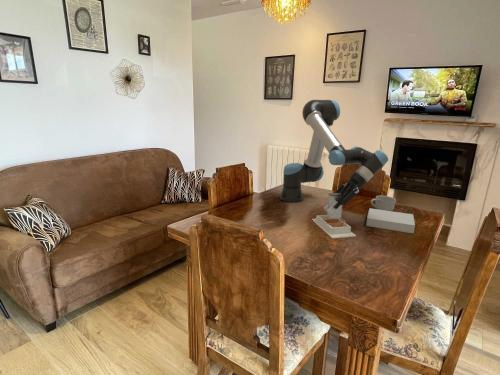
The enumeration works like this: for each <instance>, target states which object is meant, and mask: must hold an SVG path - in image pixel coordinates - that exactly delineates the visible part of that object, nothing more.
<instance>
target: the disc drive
mask: <svg viewBox="0 0 500 375" xmlns="http://www.w3.org/2000/svg"><path fill="white" fill-rule="evenodd" d="M367 208H368V209H367V212H366V215H365V221H364V226H365V227H372V228H376V229H382V230H388V231H390V230H391V231H395V232H402V233H406V234H414V233H415V228H416V224H415V218H414V217H415V216H414V213H405V212H399V211H398V212H397V211H393V210H392V211H385V210H378V209H377V208H371V207H367Z"/></svg>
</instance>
